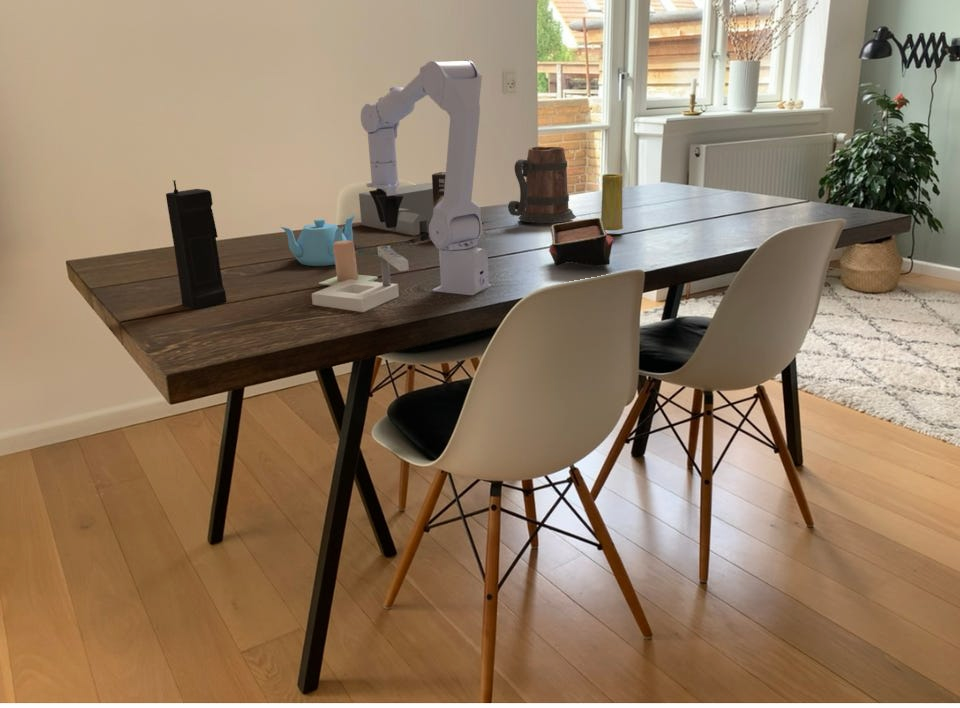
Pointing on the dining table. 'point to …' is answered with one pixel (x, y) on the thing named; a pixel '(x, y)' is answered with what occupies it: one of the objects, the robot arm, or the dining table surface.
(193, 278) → the portable radio
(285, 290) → the dining table surface
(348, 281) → the socket block
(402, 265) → the grey long bar
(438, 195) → the coffee box
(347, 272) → the plug
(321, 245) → the teapot
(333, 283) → the mat
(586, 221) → the rectangular planter pot
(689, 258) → the dining table surface
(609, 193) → the vase
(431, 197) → the grey stepped box
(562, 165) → the tankard
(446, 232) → the robot arm
